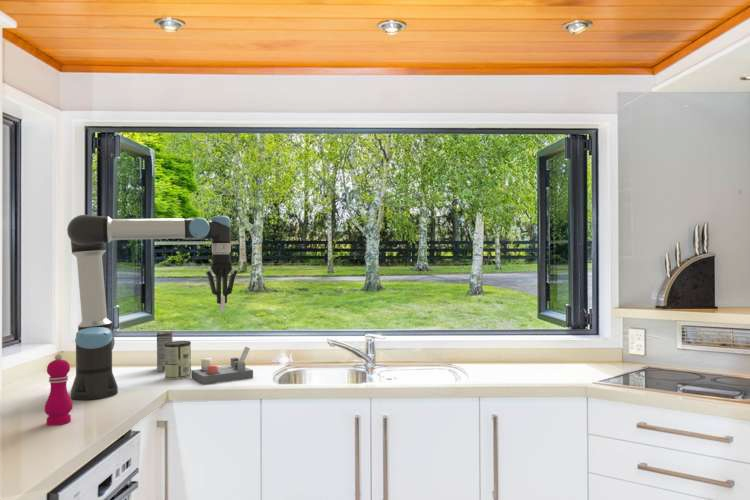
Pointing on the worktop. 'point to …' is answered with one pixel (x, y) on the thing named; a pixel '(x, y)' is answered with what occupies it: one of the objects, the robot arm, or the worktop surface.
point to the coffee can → (177, 360)
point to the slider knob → (234, 360)
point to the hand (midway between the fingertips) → (222, 311)
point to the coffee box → (162, 348)
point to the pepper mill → (58, 393)
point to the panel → (223, 374)
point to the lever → (243, 355)
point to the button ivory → (205, 364)
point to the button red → (212, 369)
